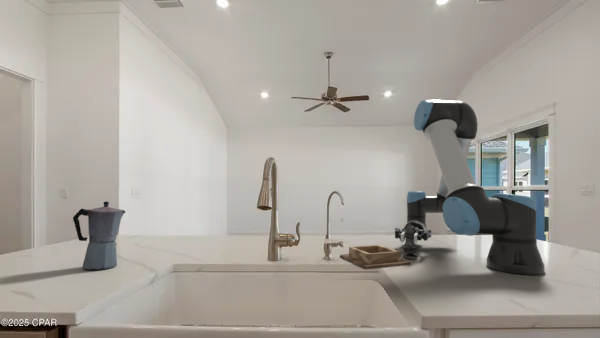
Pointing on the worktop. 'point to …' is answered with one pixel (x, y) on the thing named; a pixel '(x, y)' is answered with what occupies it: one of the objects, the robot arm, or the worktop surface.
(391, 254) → the holder
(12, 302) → the worktop surface
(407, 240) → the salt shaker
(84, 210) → the moka pot
